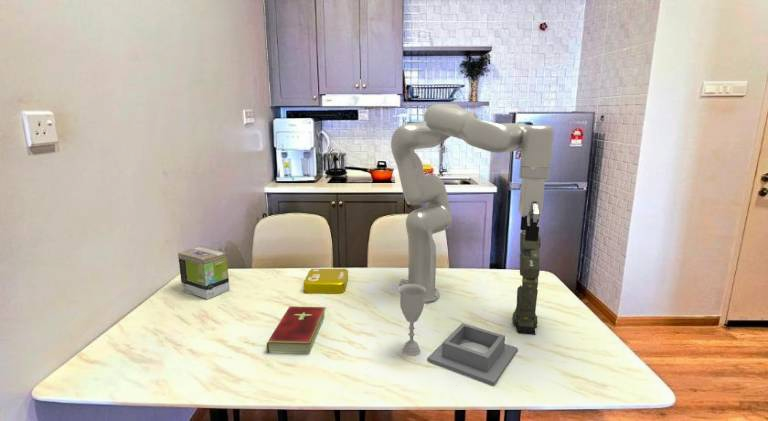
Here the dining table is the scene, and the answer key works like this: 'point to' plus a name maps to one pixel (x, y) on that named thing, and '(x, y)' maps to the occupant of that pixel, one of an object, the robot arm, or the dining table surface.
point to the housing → (474, 353)
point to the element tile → (326, 281)
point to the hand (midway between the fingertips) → (528, 235)
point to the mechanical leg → (527, 287)
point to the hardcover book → (297, 330)
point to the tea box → (204, 272)
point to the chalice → (411, 312)
